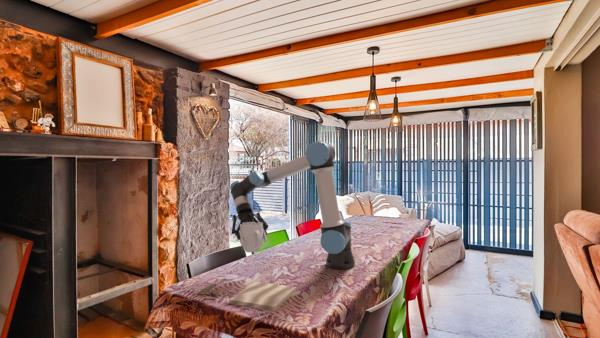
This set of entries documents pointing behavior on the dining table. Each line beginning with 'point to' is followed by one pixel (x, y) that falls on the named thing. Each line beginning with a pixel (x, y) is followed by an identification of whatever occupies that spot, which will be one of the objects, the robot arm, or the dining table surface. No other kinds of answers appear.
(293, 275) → the dining table surface
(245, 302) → the board
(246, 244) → the mug
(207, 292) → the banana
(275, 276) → the dining table surface
